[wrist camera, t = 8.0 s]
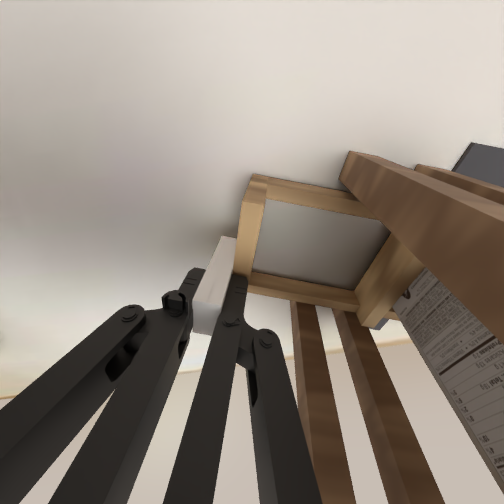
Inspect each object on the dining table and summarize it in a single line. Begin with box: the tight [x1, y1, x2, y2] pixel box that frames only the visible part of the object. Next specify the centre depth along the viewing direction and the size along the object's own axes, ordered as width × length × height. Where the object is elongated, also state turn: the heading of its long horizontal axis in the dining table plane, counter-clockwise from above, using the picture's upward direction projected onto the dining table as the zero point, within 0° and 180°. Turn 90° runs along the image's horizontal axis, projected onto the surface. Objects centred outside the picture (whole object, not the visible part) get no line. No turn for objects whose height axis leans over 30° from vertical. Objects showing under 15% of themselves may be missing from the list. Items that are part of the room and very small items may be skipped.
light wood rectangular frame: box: [232, 174, 425, 328], centre depth 16 cm, size 11×26×6 cm, turn 81°
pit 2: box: [452, 143, 504, 188], centre depth 14 cm, size 4×4×1 cm
